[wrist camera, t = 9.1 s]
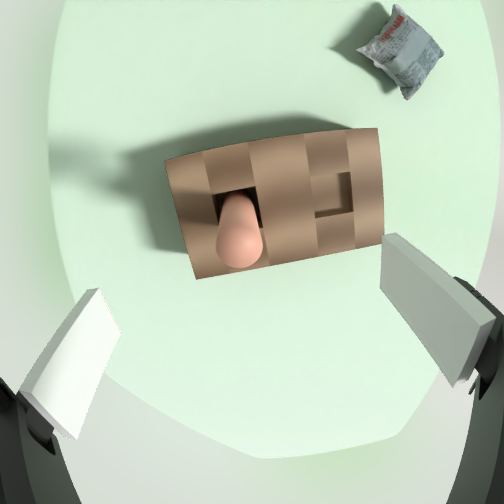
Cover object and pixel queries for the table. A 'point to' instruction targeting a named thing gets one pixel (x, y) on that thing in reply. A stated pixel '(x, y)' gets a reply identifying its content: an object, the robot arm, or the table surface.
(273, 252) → the bore block
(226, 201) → the dowel
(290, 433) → the table surface
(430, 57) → the packaged food
